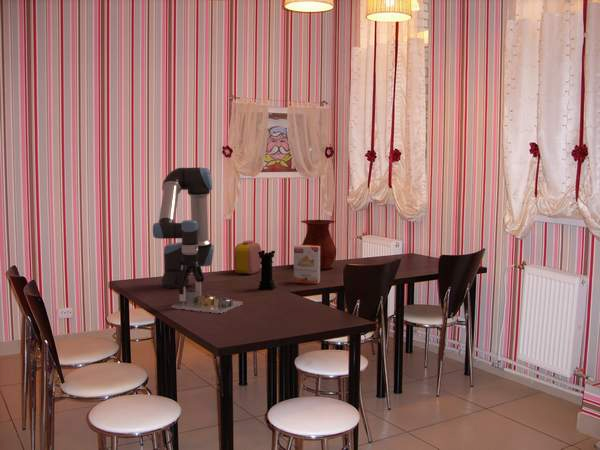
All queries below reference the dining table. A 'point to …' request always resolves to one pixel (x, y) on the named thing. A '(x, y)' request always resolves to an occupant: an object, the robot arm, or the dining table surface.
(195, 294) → the gear
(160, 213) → the robot arm
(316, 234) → the vase
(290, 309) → the dining table surface
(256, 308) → the dining table surface
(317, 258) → the cracker box
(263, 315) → the dining table surface
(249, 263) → the lunch box
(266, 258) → the chess piece
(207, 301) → the carrier
